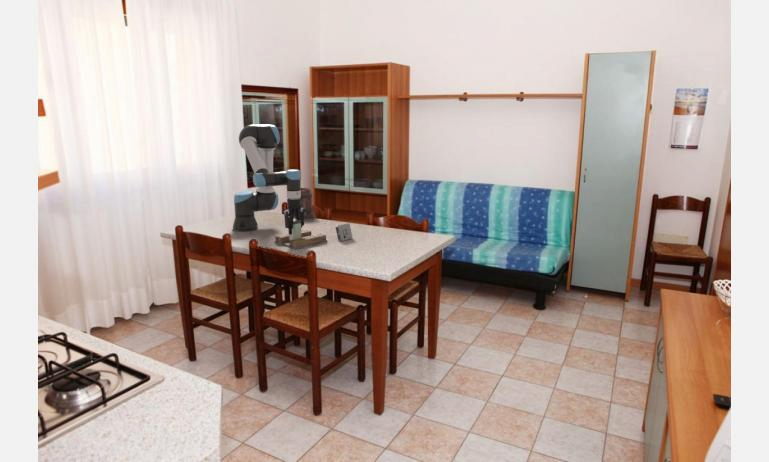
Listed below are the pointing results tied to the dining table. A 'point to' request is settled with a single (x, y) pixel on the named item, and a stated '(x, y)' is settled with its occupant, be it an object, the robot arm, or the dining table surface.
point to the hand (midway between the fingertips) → (295, 239)
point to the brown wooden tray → (301, 240)
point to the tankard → (307, 203)
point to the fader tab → (296, 229)
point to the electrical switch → (344, 232)
